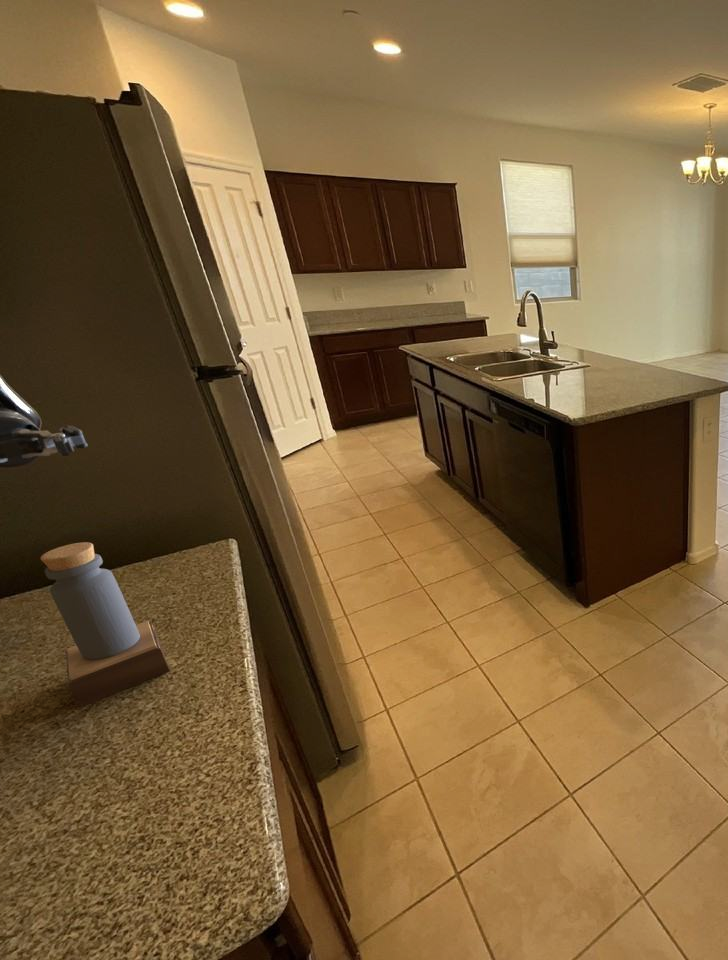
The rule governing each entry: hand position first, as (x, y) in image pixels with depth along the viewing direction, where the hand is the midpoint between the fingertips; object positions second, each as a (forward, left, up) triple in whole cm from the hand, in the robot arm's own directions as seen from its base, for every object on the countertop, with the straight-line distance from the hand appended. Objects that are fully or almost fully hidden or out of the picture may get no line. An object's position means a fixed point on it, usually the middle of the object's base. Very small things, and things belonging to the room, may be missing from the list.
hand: (17, 457), depth 68 cm
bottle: (+10, -4, -26) cm, 28 cm away
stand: (+10, -5, -30) cm, 32 cm away
